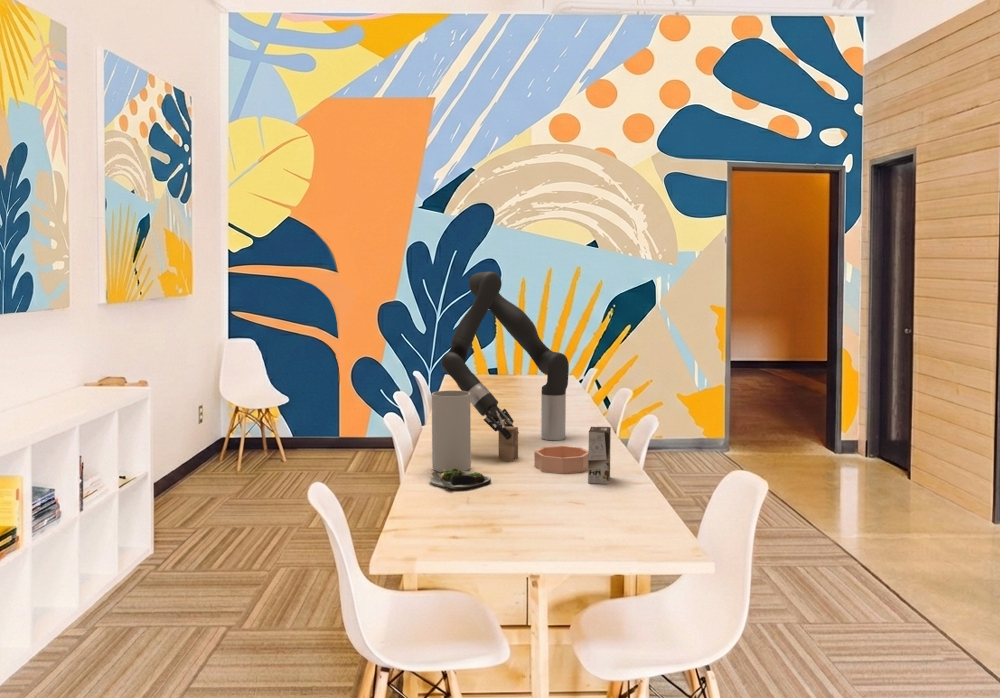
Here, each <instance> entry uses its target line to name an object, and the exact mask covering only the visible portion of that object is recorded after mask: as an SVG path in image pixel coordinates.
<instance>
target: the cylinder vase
mask: <svg viewBox="0 0 1000 698" xmlns="http://www.w3.org/2000/svg"><path fill="white" fill-rule="evenodd" d="M471 422H472V421H471V402H470V392H466V391H461V390H454V389H453V390H452V389H451V390H439V391H434V392H432V393H431V443H432V444H431V449H432V451H431V453H432V454H431V458H432V459H431V460H432V461H431V465H432V467H431V468H432V469H433V470H434V472H436V473H441V474H443V473H444V469H445V470H446V471H447V470H451V469H453V468H455V469H459V470H460V471H469V470H471V467H472V465H471V464H472V461H471V459H472V457H471V456H472V455H471V454H472V453H471V452H472V450H471V448H472V447H471V444H472V443H471V441H472V440H471V439H472V437H471V436H472V435H471V431H472V430H471Z"/></svg>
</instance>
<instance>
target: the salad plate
mask: <svg viewBox="0 0 1000 698" xmlns="http://www.w3.org/2000/svg"><path fill="white" fill-rule="evenodd" d="M431 476H432V477H431V478H429V483H431V484H433V485H434V486H436V487H439V488H442V489H446V490H449V491H456V492H457V491H459V492H461V491H463V492H465V491H470V490H476V489H479V488H483V487H486V486H488V485H489V484H490V483H491V482H492V479H491V477H490V476H489V475H486V474H483V473H480V472H476V471H475V472H472V471H469V470H467V471H460V470H459V469H455V468H453V469H451V470H447V471H446V470H445V469H444V473H441V475H440V474H438V472H437V471H434V472H432V473H431Z"/></svg>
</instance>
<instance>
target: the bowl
mask: <svg viewBox="0 0 1000 698" xmlns="http://www.w3.org/2000/svg"><path fill="white" fill-rule="evenodd" d="M588 451H589V450H588V449H585V448H584V447H579V446H578V447H577V446H569V445H556V446H555V445H554V446H543V447H541V448H539V449H537V450H534V453H533V454H534V462H533V463H534V467H535V468H536V467H537V468H536V469H538V470H539V469H540V471H541V472H545V473H552V474H553V473H554V474H560V475H561V474H562V475H563V474H576V473H577V472H578V473H583V471H584V472H585V471H587V470H588ZM586 469H587V470H586Z"/></svg>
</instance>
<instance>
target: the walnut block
mask: <svg viewBox="0 0 1000 698" xmlns="http://www.w3.org/2000/svg"><path fill="white" fill-rule="evenodd" d="M504 427H505V428H506V429H507V430H508V431H509V433H510V434H511V435H512V437H511V438H510V439H508V440H507V439H506V438H505V437H504V436H503V435H502V433H501V432H498V461H502V460H508V461H507V462H510V461H512V462H514V461H516V460H518V459H519V434H518V432H519V427H518V426H514V427H512V426H504ZM517 458H518V459H517ZM515 459H516V460H515ZM513 460H514V461H513Z"/></svg>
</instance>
